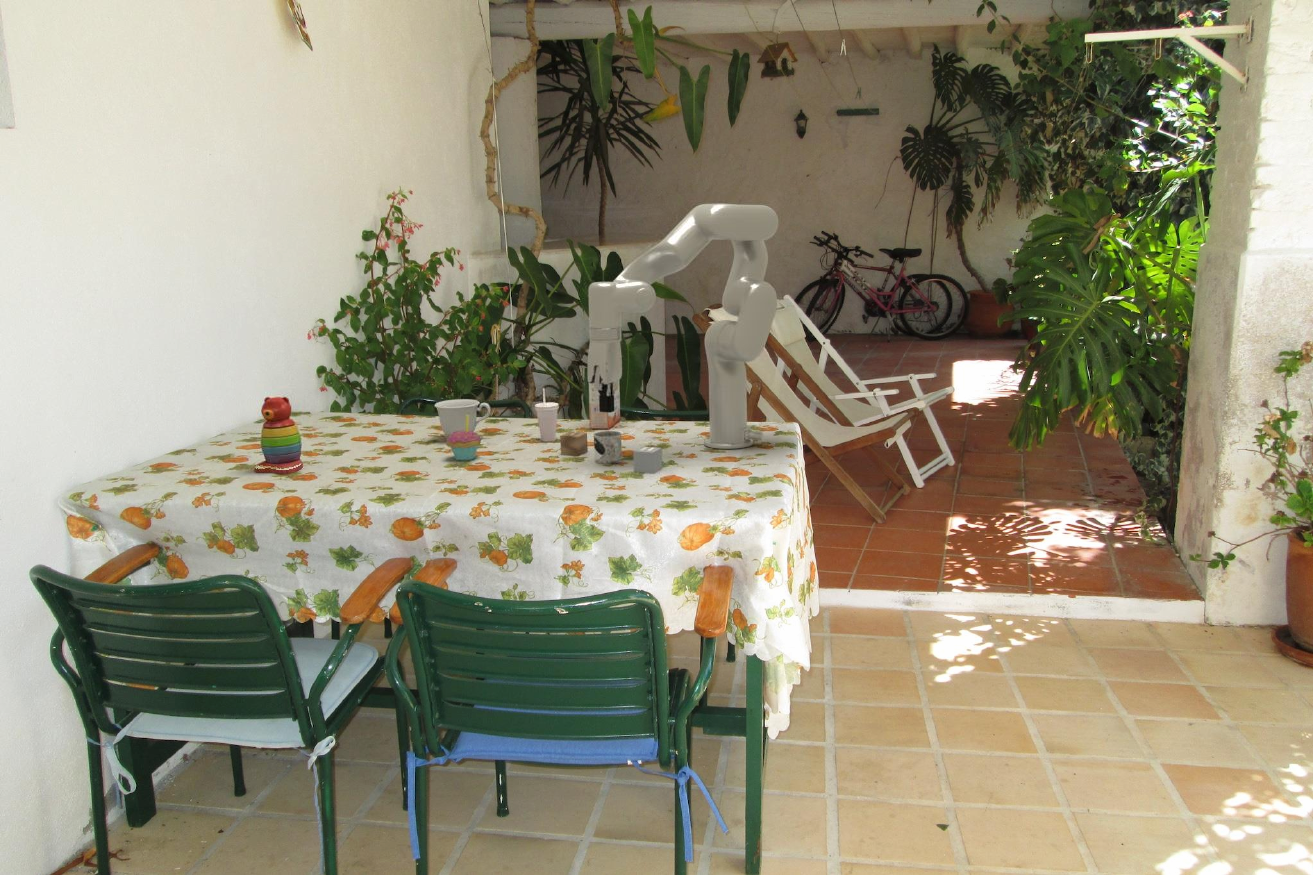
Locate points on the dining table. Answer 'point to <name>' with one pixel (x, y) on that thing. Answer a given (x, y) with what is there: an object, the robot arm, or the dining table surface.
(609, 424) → the cracker box
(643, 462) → the slate number block
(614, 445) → the mug
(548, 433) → the smoothie
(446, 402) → the teacup
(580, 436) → the walnut number block
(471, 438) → the cupcake
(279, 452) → the stacking bear
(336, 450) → the dining table surface
